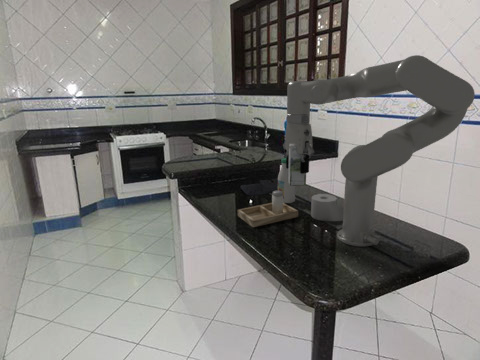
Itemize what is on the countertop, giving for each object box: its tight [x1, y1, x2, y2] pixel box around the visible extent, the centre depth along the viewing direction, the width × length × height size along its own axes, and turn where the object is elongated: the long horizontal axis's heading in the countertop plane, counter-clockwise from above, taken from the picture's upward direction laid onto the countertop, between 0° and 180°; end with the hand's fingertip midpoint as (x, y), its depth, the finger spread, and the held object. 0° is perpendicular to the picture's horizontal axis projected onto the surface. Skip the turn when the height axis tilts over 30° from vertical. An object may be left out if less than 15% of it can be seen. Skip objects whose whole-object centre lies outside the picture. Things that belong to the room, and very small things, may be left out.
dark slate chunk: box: [240, 177, 278, 197], centre depth 165 cm, size 15×22×5 cm
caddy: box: [236, 202, 299, 228], centre depth 128 cm, size 13×20×4 cm, turn 116°
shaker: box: [271, 191, 283, 214], centre depth 129 cm, size 4×4×9 cm
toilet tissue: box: [310, 193, 344, 222], centre depth 126 cm, size 9×13×9 cm
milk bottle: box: [277, 157, 296, 204], centre depth 144 cm, size 8×8×20 cm
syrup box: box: [288, 144, 307, 187], centre depth 113 cm, size 6×6×14 cm
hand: (297, 170), depth 114 cm, fingers closed on syrup box, 7 cm apart
